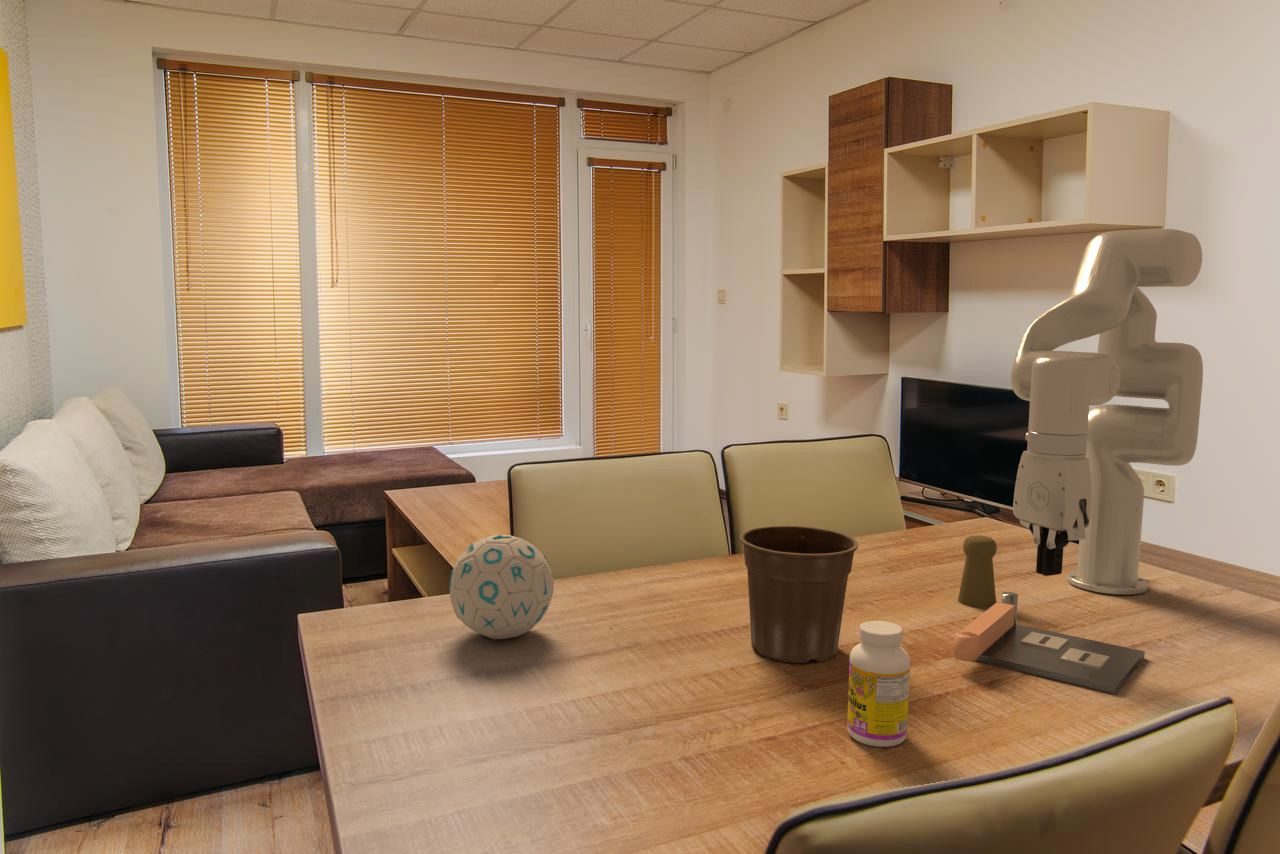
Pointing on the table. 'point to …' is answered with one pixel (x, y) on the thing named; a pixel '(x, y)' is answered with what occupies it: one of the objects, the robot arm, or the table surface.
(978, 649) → the swing bar
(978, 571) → the cork
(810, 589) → the plant pot
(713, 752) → the table surface
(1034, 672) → the panel
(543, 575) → the puzzle ball
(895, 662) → the supplement bottle
